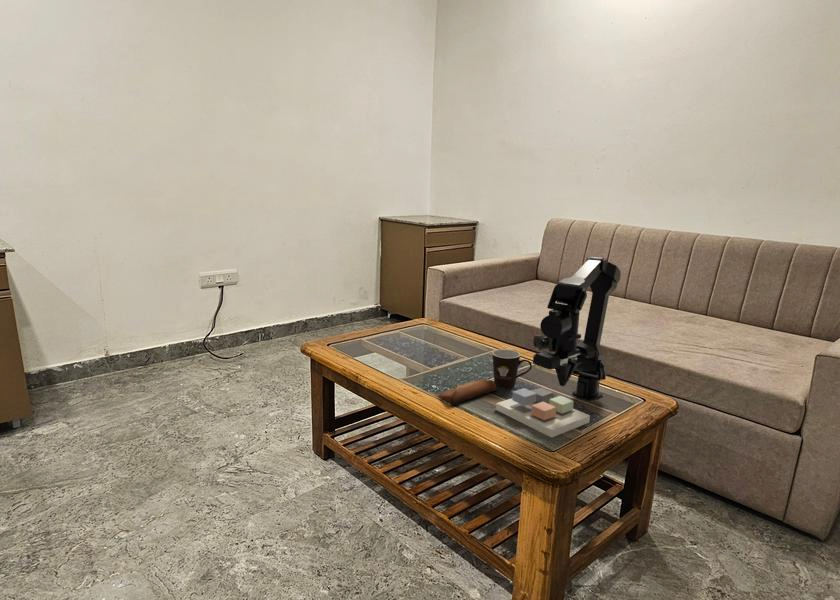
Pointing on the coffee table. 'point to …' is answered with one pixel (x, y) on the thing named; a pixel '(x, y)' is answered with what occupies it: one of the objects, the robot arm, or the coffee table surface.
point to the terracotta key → (543, 410)
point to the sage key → (561, 404)
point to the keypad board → (548, 426)
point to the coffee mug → (506, 367)
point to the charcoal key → (543, 395)
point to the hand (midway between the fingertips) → (562, 385)
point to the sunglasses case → (467, 391)
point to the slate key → (524, 396)
